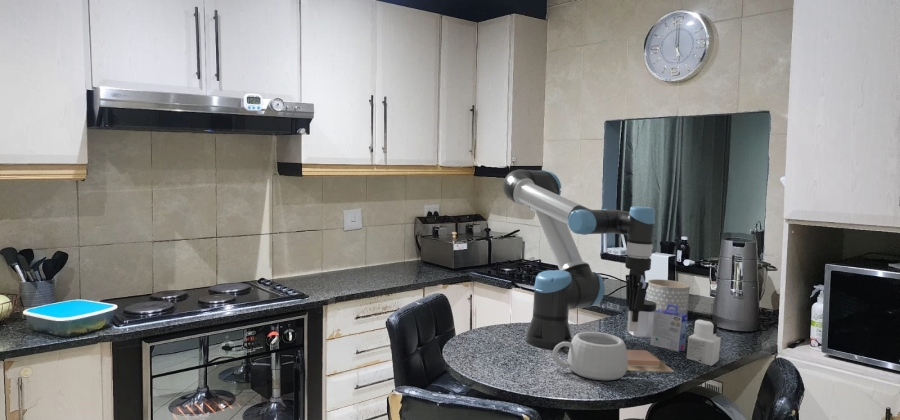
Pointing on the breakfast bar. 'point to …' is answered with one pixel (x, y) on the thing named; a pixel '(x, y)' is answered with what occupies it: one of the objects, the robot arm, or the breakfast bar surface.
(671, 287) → the planter
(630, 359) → the tile
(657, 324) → the ink cartridge box
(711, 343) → the container
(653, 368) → the plate
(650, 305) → the jar
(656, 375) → the breakfast bar surface
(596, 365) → the mug
